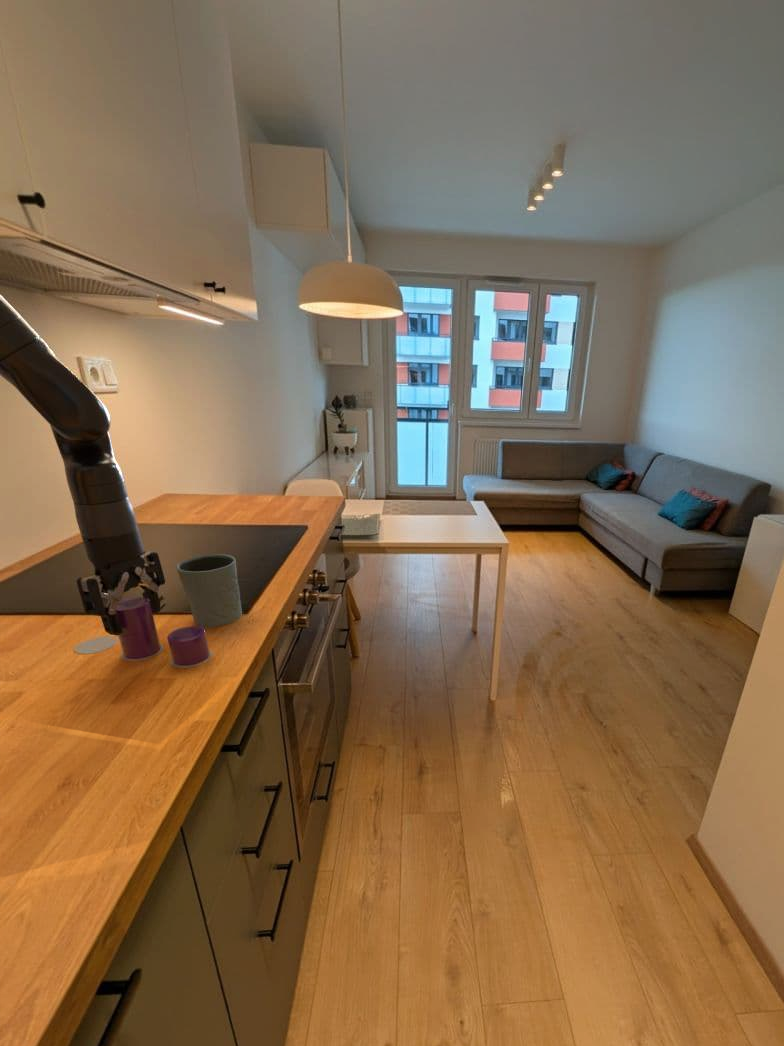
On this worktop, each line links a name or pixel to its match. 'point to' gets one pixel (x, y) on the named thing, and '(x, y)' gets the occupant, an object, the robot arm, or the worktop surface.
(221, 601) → the grey cylindrical pot
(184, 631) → the purple canister
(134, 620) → the purple cylinder
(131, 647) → the small purple cup
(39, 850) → the worktop surface
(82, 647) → the mat
